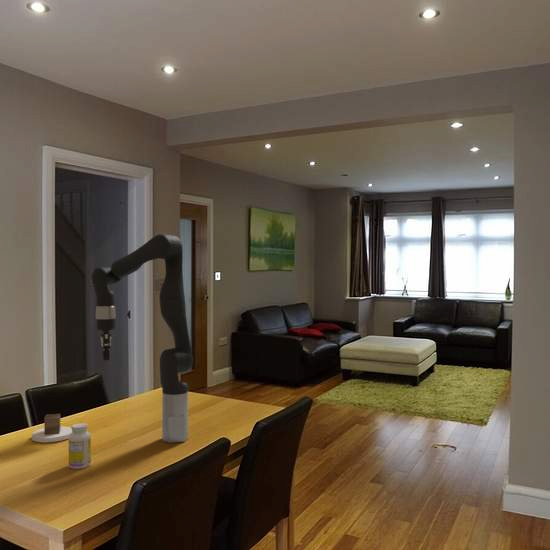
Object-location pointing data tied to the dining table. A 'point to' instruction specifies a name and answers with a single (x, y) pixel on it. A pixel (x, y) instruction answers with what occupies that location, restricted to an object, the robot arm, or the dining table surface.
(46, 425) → the walnut block
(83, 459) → the supplement bottle
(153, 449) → the dining table surface
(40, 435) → the plastic lid
